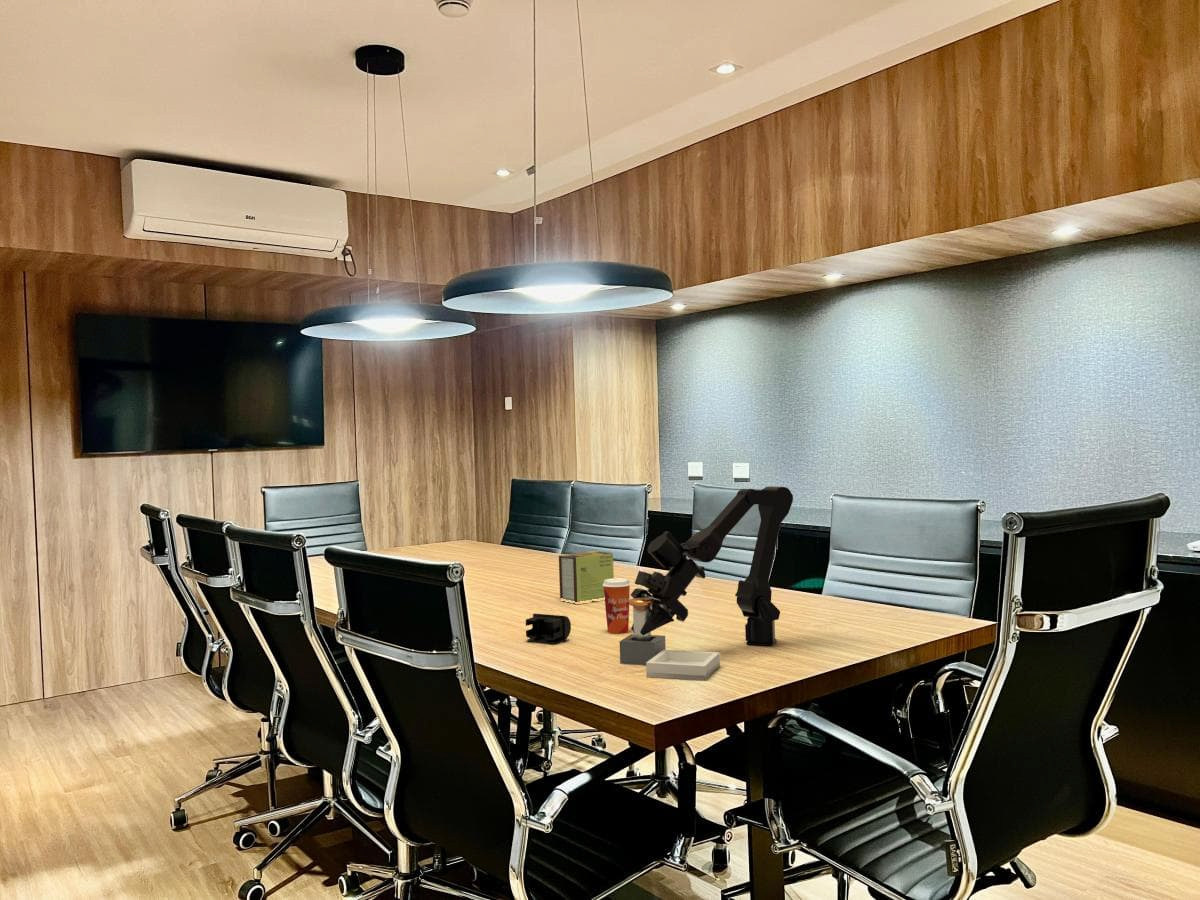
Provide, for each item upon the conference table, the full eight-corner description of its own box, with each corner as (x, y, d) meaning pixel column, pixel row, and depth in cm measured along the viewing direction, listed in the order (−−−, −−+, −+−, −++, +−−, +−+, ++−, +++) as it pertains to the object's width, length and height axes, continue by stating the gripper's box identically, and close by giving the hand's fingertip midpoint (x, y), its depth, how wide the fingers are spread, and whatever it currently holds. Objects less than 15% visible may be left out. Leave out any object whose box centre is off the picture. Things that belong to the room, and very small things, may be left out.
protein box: (615, 599, 294) (613, 552, 294) (577, 605, 285) (575, 557, 285) (596, 596, 302) (595, 550, 302) (559, 601, 293) (557, 554, 293)
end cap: (571, 640, 231) (571, 614, 231) (556, 645, 225) (555, 618, 225) (540, 637, 236) (539, 611, 236) (524, 642, 230) (523, 616, 230)
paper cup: (608, 635, 235) (607, 582, 235) (600, 630, 242) (598, 579, 242) (636, 633, 237) (634, 580, 237) (627, 627, 244) (626, 577, 244)
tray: (719, 666, 197) (719, 652, 197) (705, 680, 185) (705, 666, 185) (664, 662, 202) (663, 649, 202) (646, 676, 190) (646, 662, 190)
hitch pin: (658, 657, 207) (656, 598, 207) (651, 663, 202) (649, 602, 202) (635, 656, 209) (633, 597, 209) (627, 662, 204) (625, 601, 204)
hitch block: (665, 657, 208) (665, 635, 208) (655, 665, 200) (654, 643, 200) (632, 655, 211) (631, 634, 211) (620, 663, 203) (619, 641, 203)
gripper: (636, 554, 216) (597, 604, 211) (674, 562, 199) (632, 616, 194) (665, 584, 219) (627, 634, 214) (706, 593, 202) (665, 648, 197)
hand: (637, 632), depth 205 cm, fingers closed on hitch pin, 4 cm apart
